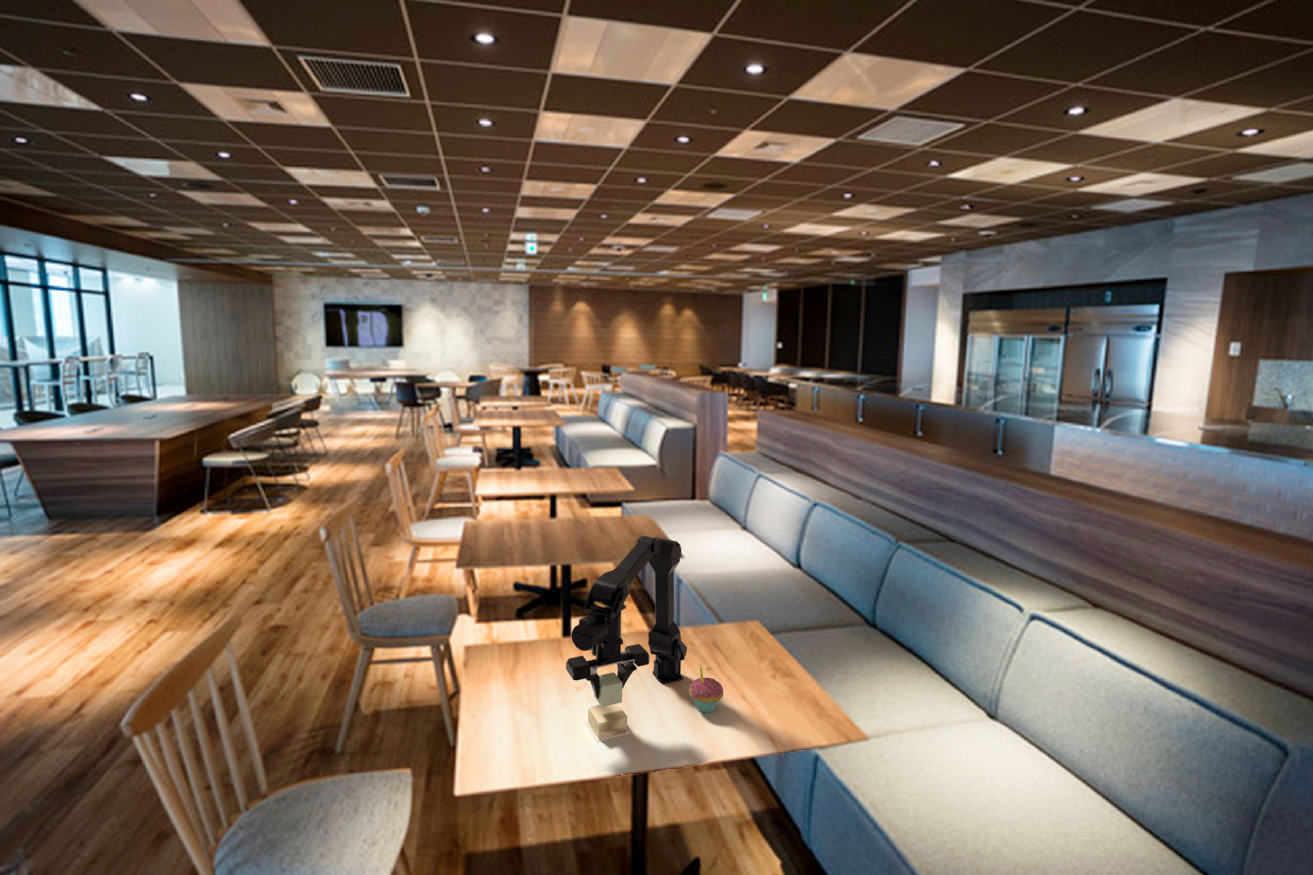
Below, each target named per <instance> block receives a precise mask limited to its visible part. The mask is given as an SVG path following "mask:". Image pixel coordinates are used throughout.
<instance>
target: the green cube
mask: <svg viewBox="0 0 1313 875" xmlns="http://www.w3.org/2000/svg"><path fill="white" fill-rule="evenodd" d="M598 675H599V674H598ZM599 676H600V694H599V699H597V698H596V696H595V694H594V693H593V697H594V699H595V700H596V701H597V703H598V705H600V706H601V707H605V706H609V705H613V704H617V703H618V704H621V703H623V689H622V681H621V680H620V679H619V678H618V676H617V674H616V673H615V671H614V672H612V671H611V672H609V673H604V674H600V675H599Z"/></svg>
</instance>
